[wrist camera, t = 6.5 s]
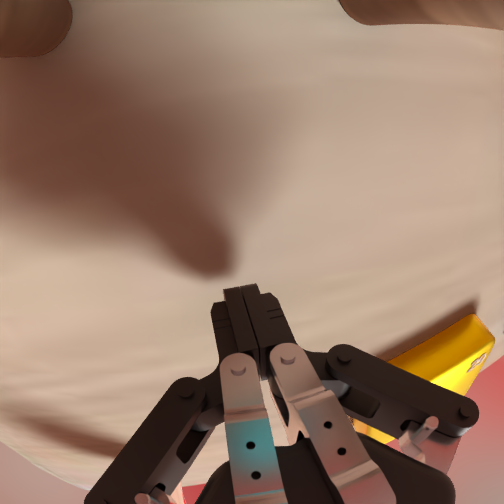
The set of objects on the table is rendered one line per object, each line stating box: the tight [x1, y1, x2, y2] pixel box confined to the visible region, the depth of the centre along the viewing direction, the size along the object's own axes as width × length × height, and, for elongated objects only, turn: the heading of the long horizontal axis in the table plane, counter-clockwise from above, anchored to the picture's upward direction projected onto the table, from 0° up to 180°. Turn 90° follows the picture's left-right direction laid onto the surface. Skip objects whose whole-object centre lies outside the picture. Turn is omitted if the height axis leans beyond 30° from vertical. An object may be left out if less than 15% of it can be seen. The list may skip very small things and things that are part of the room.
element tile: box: [353, 314, 495, 444], centre depth 27 cm, size 15×15×5 cm
